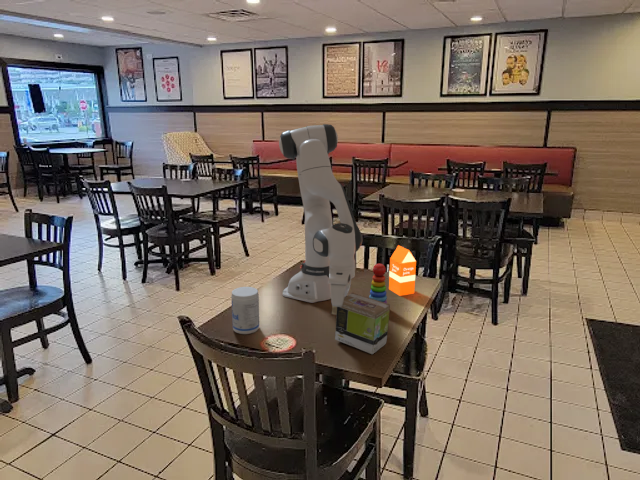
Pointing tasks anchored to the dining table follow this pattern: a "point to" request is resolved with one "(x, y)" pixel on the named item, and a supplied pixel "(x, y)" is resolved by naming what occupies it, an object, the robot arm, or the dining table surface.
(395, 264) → the orange juice
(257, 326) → the supplement tub
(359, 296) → the tea box
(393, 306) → the dining table surface
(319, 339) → the dining table surface
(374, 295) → the stacking toy
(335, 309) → the birch cube
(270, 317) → the dining table surface
